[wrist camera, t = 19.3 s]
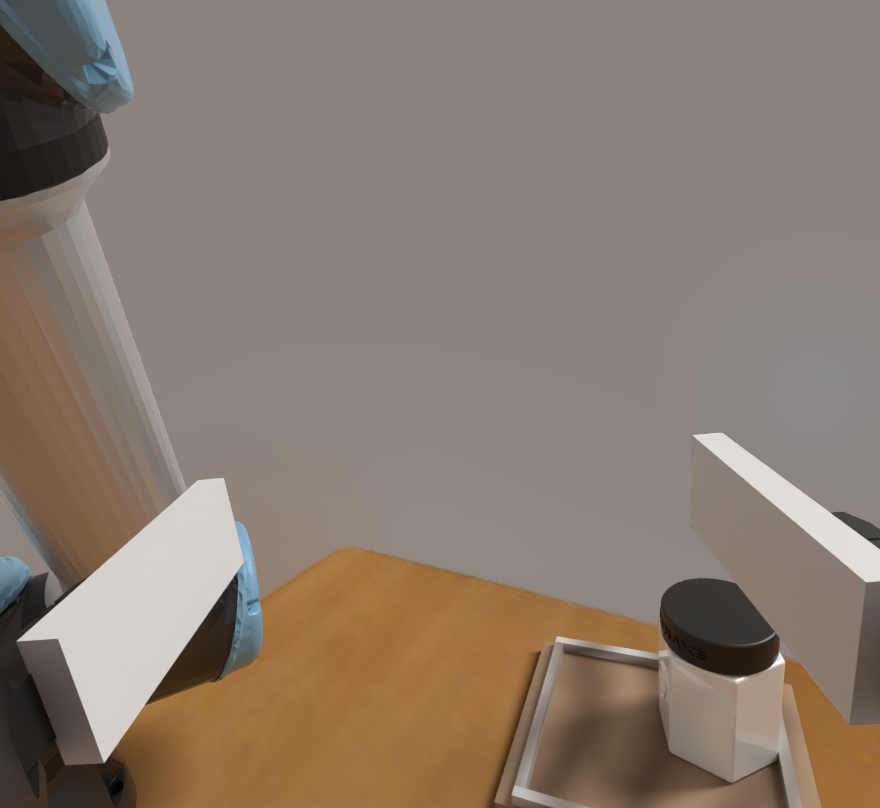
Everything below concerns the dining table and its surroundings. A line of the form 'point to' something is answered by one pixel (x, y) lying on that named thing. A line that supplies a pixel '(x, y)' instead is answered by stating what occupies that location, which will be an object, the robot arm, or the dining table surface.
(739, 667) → the jar
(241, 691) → the dining table surface
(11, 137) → the robot arm
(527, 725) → the tray
